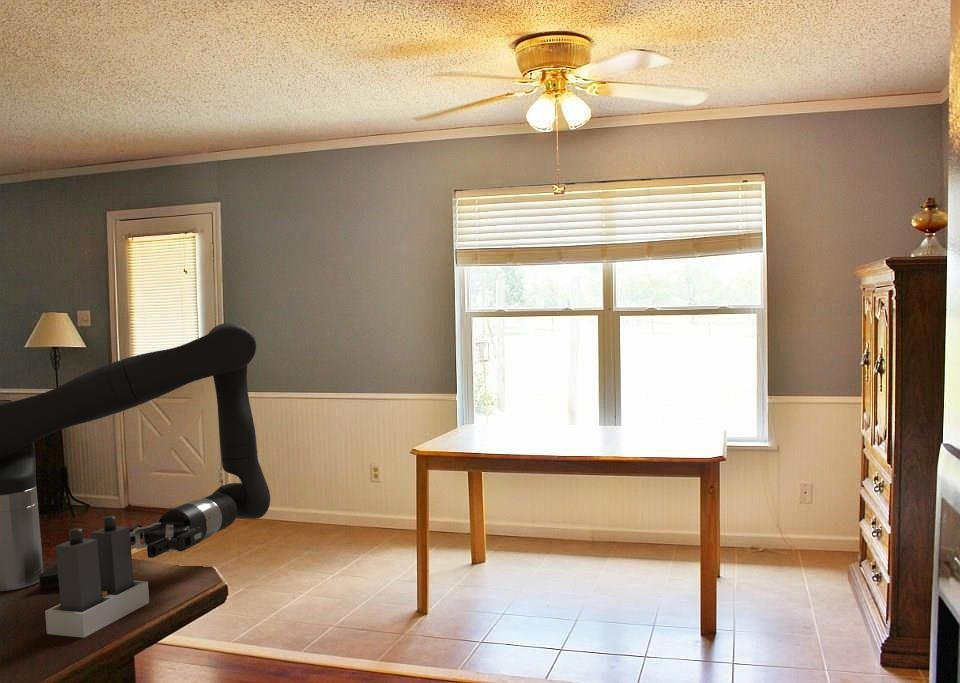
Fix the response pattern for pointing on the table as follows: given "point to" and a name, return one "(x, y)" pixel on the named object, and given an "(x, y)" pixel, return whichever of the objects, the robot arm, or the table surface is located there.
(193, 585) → the table surface
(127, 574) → the plug
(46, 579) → the black sponge
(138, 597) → the grey rectangular tray
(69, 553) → the twin plug
